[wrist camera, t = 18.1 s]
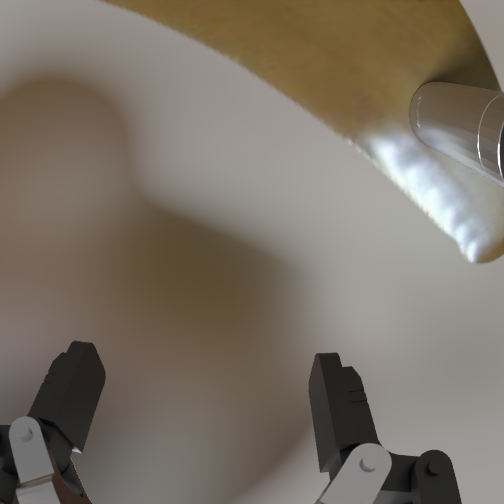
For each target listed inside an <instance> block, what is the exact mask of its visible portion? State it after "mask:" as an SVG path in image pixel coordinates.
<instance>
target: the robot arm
mask: <svg viewBox="0 0 504 504" xmlns="http://www.w3.org/2000/svg"><path fill="white" fill-rule="evenodd" d="M410 120H411V125H412V128H413V130H414V132H415V134H416V136H417V137H418V138H419V139H420V141H421V142H423V143H424V144H425V145H427V146H429V147H431V148H433V149H435V150H437V151H439V152H441V153H443V154H444V155H446V156H448V157H450V158H452V159H454V160H456V161H458V162H460V163H462V164H463V165H465V166H467V167H469V168H471V169H473V170H474V171H476V172H478V173H480V174H481V175H483V176H485V177H486V178H488V179H490V180H492V181H493V182H495V183H497V184H498V185H500V186H502V187H503V188H504V92H500V91H495V90H490V89H484V88H479V87H473V86H467V85H460V84H454V83H446V82H429V83H426V84H424V85H423V86H421V87H420V88H419V89H418V90H417V92H416V93H415V95H414V97H413V99H412V101H411V106H410ZM104 384H105V369H104V366H103V364H102V362H101V360H100V357H99V355H98V353H97V350H96V348H95V346H94V344H93V343H89V342H81V341H73V342H72V343H71V345H70V347H69V348H68V350H67V352H66V353H63V352H62V353H61V354H60V355H59V356H58V357H57V358H56V359H55V360H54V361H53V363H52V364H51V366H50V368H49V371H48V374H47V375H46V377H45V379H44V383H42V385H41V387H40V389H39V392H38V394H37V396H36V398H35V400H34V402H33V405H32V407H31V409H30V412H29V413H28V415H27V417H21V418H19V419H17V420H16V421H14V422H13V424H12V425H0V504H92V502H91V501H90V499H89V498H88V496H87V494H86V492H85V490H84V487H83V485H82V483H81V481H80V479H79V476H78V474H77V471H76V469H75V467H74V464H73V462H72V460H71V458H70V456H71V452H72V451H75V452H79V453H82V452H83V449H84V445H85V442H86V439H87V435H88V432H89V429H90V426H91V422H92V419H93V416H94V413H95V410H96V407H97V404H98V401H99V398H100V395H101V392H102V389H103V387H104ZM309 398H310V405H311V412H312V419H313V425H314V432H315V439H316V446H317V453H318V461H319V468H320V472H329V476H330V482H329V483H328V485H327V487H326V488H325V489H324V491H323V492H322V494H321V495H320V496H319V498H318V499H317V501H316V502H315V503H314V504H462V503H461V498H460V494H459V489H458V485H457V481H456V477H455V473H454V469H453V465H452V462H451V460H450V458H449V457H448V456H447V455H446V454H445V453H443V452H442V451H439V450H430V451H427V452H425V453H423V454H422V455H421V456H420V457H417V456H405V455H397V454H393V453H391V452H389V451H387V450H386V449H385V448H384V447H382V445H381V444H380V442H379V440H378V438H377V434H376V430H375V426H374V422H373V419H372V416H371V412H370V408H369V405H368V403H367V398H366V394H365V392H364V387H363V384H362V381H361V378H360V376H359V375H358V373H357V372H356V371H355V370H354V369H353V367H352V366H350V367H342V365H341V361H340V357H339V355H338V353H317V354H316V355H315V358H314V363H313V366H312V370H311V374H310V378H309Z"/></svg>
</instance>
